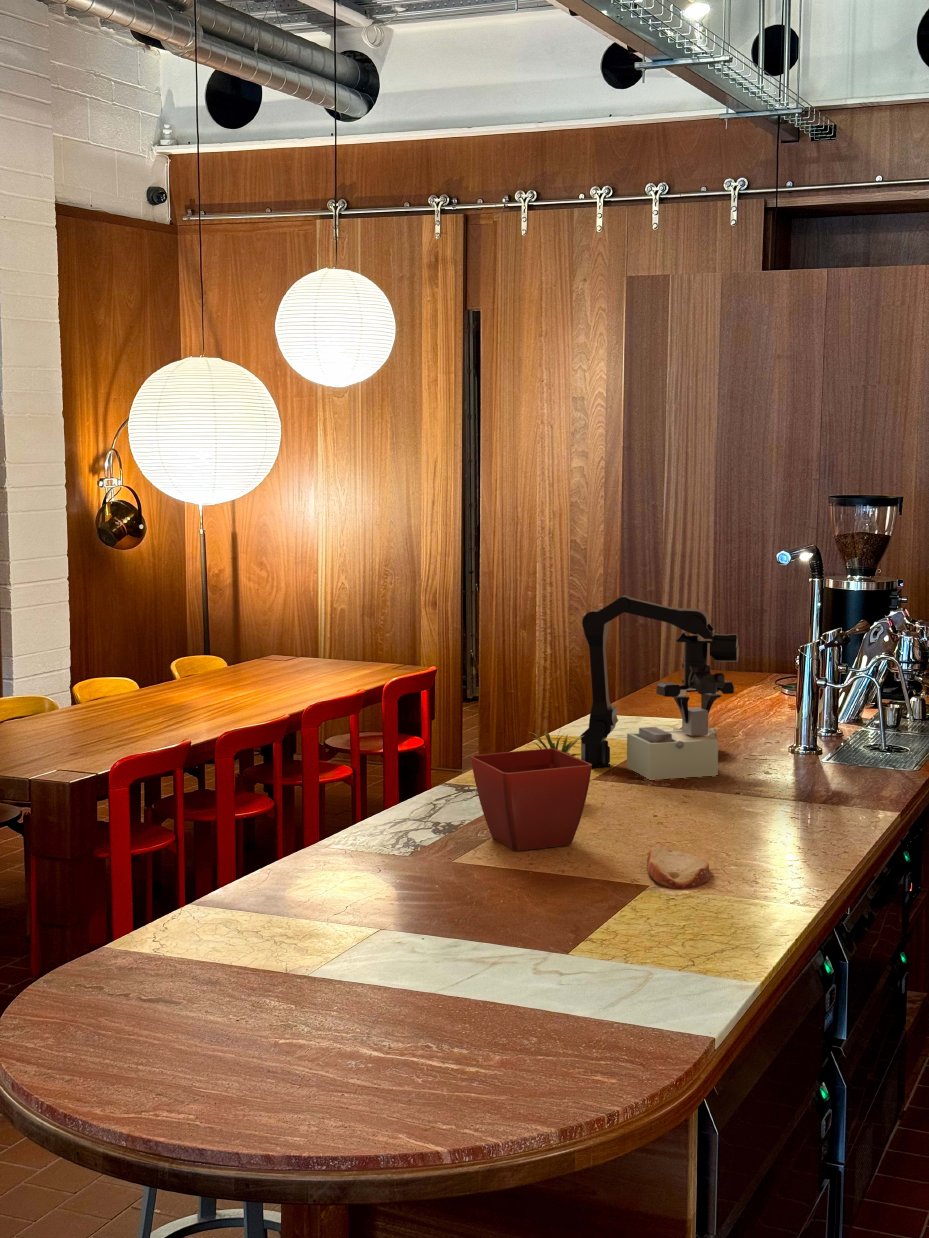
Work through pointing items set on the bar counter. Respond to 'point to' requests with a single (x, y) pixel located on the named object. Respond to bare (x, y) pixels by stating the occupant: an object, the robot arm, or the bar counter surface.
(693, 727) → the grey block
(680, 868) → the bread slice
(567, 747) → the house plant
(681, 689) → the robot arm
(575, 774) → the plant pot
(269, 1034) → the bar counter surface
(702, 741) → the pale green open box
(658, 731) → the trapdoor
